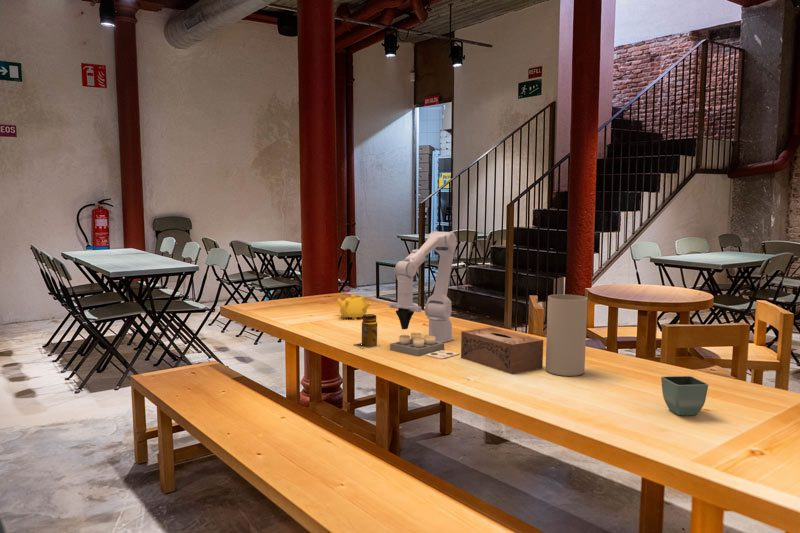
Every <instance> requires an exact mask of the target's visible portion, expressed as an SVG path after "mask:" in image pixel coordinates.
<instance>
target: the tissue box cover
mask: <svg viewBox="0 0 800 533" xmlns="http://www.w3.org/2000/svg"><path fill="white" fill-rule="evenodd" d="M460 334H461V337H460V339H461V340H460V347H461V348H460V359H463V360H466V361H469V362H472V363H475V364H479V365H482V366H485V367H488V368H491V369H494V370H497V371H500V372H503V373H506V374H510V375H515V374H521V373H525V372H529V371H530V372H531V371H535V370H540V369H543V368H544V367H543V366H544V365H543V360H544V339H542V338H537V337H534V336H533V337H532V336H528V335H525V334H520V333H517V332H512V331H508V330H504V329H501V328H496V327H494V326H493V327H492V326H491V327H483V328H476V329H467V330H462V331H461V333H460Z"/></svg>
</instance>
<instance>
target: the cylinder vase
mask: <svg viewBox="0 0 800 533" xmlns="http://www.w3.org/2000/svg"><path fill="white" fill-rule="evenodd" d="M546 315H547V320H546V347H545V350H546V351H545V371H547V373H549V374H552V375H556V376H561V377H576V376H578V377H579V376H582V375H583V374H585V368H586V367H585V366H586V346H587V344H586V343H587V342H586V340H587V321H588V320H587V319H588V316H587V315H588V297H586V296H583V295H576V294H550V295H548V296H547V314H546ZM581 374H582V375H581Z"/></svg>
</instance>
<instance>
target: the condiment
mask: <svg viewBox="0 0 800 533" xmlns="http://www.w3.org/2000/svg"><path fill="white" fill-rule="evenodd" d="M361 344H362V345H361ZM378 345H379V346H378ZM353 346H356V347H358V348H361V349H368V348H375V347H374V346H378V347H382V345H380V344H378V321H377V315H376V314H372V313H366V314H365V315H363V318H362V322H361V342H360V343H353Z"/></svg>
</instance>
